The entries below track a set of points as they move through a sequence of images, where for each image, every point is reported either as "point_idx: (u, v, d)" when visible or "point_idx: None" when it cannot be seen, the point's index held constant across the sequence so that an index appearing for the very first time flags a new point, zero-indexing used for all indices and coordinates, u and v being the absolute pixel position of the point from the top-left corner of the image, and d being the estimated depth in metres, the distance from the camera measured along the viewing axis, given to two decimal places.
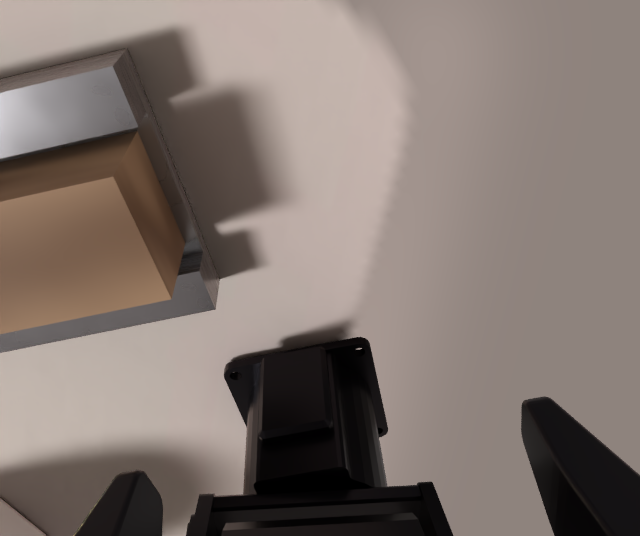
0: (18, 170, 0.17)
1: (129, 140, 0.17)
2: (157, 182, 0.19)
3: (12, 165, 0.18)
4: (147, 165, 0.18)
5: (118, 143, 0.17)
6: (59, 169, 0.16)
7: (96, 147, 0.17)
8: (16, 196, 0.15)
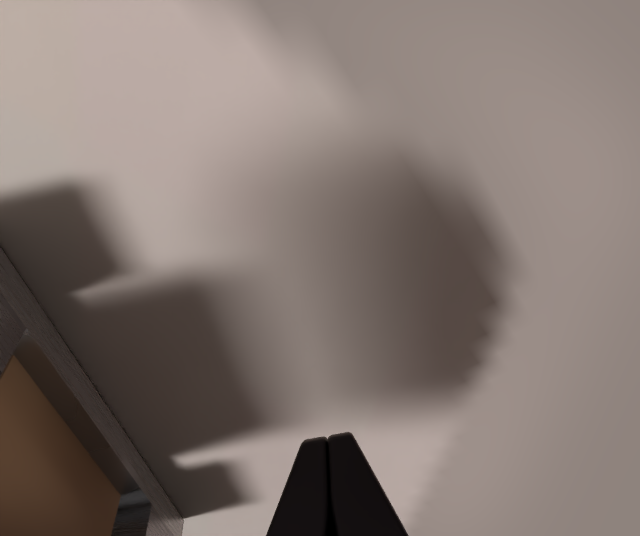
0: None
1: None
2: (60, 427, 0.10)
3: None
4: (36, 411, 0.10)
5: None
6: None
7: None
8: None
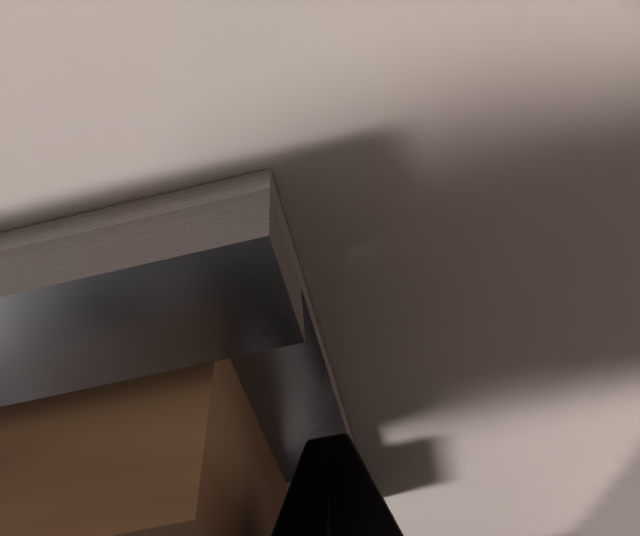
0: None
1: (208, 365, 0.09)
2: (249, 410, 0.10)
3: None
4: (235, 392, 0.09)
5: (185, 369, 0.09)
6: (69, 451, 0.08)
7: None
8: None
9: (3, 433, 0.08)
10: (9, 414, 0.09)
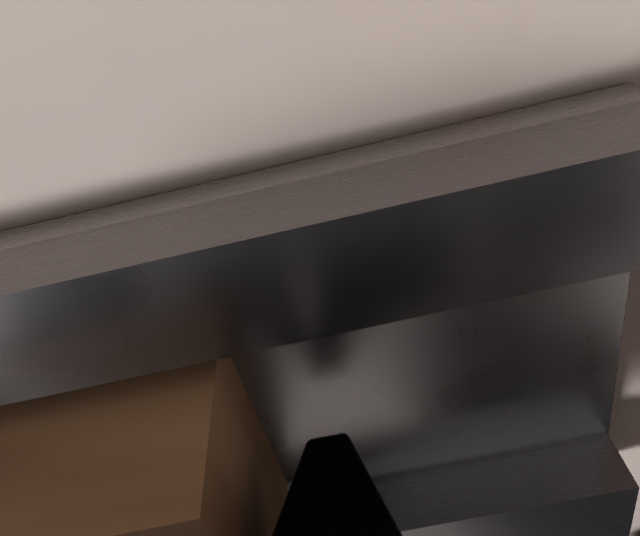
0: None
1: (210, 365, 0.09)
2: (251, 409, 0.10)
3: None
4: (237, 391, 0.09)
5: (188, 370, 0.09)
6: (72, 451, 0.08)
7: (143, 376, 0.09)
8: None
9: (5, 433, 0.08)
10: (11, 414, 0.09)
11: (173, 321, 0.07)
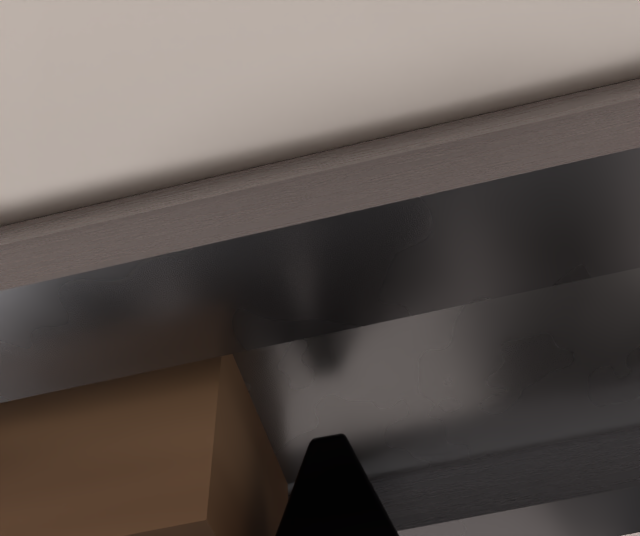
0: None
1: (214, 366, 0.09)
2: (253, 410, 0.10)
3: None
4: (240, 392, 0.09)
5: (192, 370, 0.09)
6: (75, 452, 0.08)
7: (146, 377, 0.09)
8: None
9: (7, 434, 0.08)
10: (13, 415, 0.09)
11: (438, 260, 0.07)
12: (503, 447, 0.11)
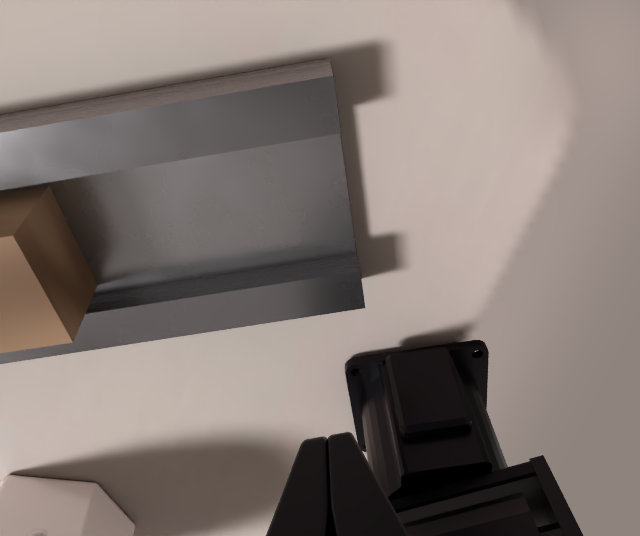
0: None
1: (38, 195, 0.19)
2: (68, 231, 0.20)
3: None
4: (57, 216, 0.19)
5: (28, 197, 0.19)
6: None
7: (8, 199, 0.19)
8: None
9: None
10: None
11: (120, 144, 0.17)
12: (212, 270, 0.22)
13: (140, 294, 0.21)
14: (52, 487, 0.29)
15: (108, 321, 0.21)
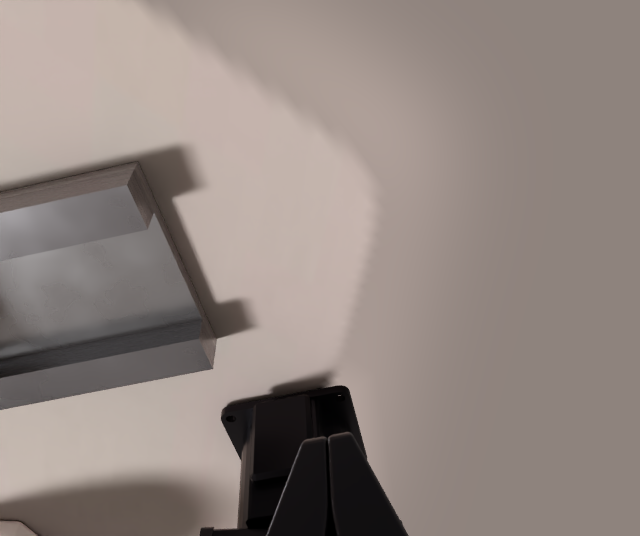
0: None
1: None
2: None
3: None
4: None
5: None
6: None
7: None
8: None
9: None
10: None
11: None
12: (74, 340, 0.24)
13: (11, 364, 0.24)
14: None
15: None
